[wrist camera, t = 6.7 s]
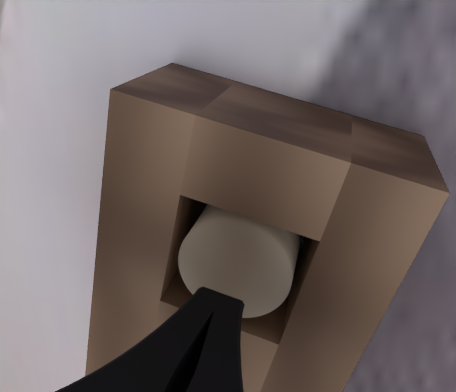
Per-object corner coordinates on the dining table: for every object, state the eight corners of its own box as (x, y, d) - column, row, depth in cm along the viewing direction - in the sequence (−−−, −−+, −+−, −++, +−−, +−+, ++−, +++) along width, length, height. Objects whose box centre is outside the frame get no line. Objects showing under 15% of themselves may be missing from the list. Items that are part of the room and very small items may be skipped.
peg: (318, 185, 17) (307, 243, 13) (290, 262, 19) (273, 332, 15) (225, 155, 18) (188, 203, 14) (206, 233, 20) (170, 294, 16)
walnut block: (423, 136, 16) (449, 193, 12) (277, 446, 25) (261, 541, 21) (172, 62, 17) (110, 89, 13) (122, 384, 27) (77, 462, 22)
